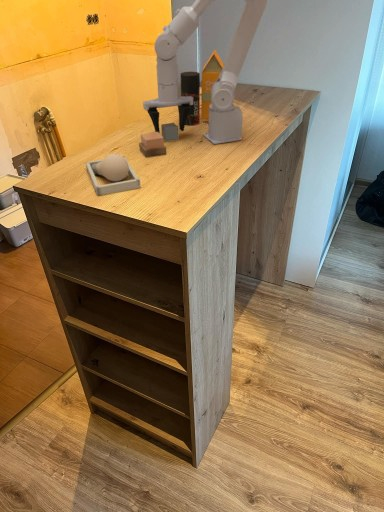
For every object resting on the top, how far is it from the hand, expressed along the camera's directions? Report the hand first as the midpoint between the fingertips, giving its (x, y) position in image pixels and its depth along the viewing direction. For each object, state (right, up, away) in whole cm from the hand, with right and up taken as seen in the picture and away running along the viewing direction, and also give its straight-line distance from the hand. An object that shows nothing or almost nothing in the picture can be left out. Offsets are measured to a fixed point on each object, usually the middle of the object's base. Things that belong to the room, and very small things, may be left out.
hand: (169, 131), depth 112 cm
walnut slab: (-4, -8, -7) cm, 12 cm away
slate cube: (0, -2, +1) cm, 2 cm away
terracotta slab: (-4, -6, -8) cm, 11 cm away
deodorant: (+6, +7, +13) cm, 16 cm away
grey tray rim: (-13, -18, -20) cm, 30 cm away
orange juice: (+14, +12, +19) cm, 26 cm away
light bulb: (-13, -18, -19) cm, 30 cm away
